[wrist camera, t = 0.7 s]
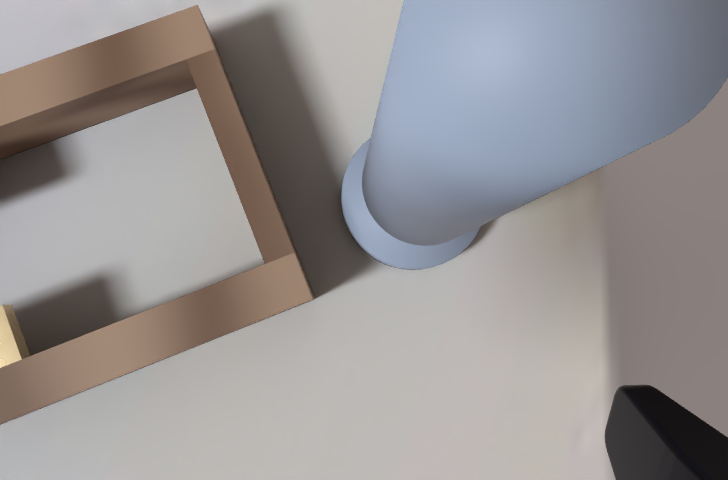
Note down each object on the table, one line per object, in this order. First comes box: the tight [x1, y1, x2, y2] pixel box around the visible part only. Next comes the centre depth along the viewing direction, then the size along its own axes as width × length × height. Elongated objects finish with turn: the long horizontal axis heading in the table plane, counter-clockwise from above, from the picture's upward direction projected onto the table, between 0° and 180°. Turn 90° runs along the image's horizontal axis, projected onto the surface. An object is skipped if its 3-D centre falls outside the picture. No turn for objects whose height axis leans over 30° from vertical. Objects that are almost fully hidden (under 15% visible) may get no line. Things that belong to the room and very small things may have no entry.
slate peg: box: [341, 0, 728, 270], centre depth 15 cm, size 5×5×16 cm
